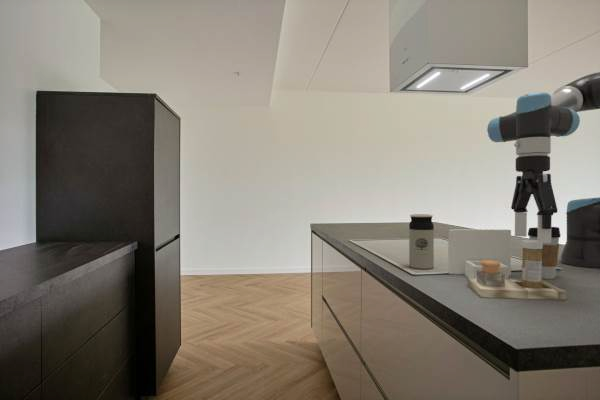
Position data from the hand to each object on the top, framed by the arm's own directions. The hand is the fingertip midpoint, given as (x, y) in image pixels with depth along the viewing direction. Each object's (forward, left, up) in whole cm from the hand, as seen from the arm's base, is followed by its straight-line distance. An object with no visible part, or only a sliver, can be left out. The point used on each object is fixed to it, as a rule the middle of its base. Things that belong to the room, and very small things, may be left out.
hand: (531, 239), depth 98 cm
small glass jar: (+10, 0, -11) cm, 15 cm away
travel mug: (+22, -31, -14) cm, 41 cm away
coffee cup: (-12, -20, -14) cm, 27 cm away
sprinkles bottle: (0, 0, -14) cm, 14 cm away
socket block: (+4, 0, -14) cm, 14 cm away
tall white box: (+6, -16, -14) cm, 22 cm away
